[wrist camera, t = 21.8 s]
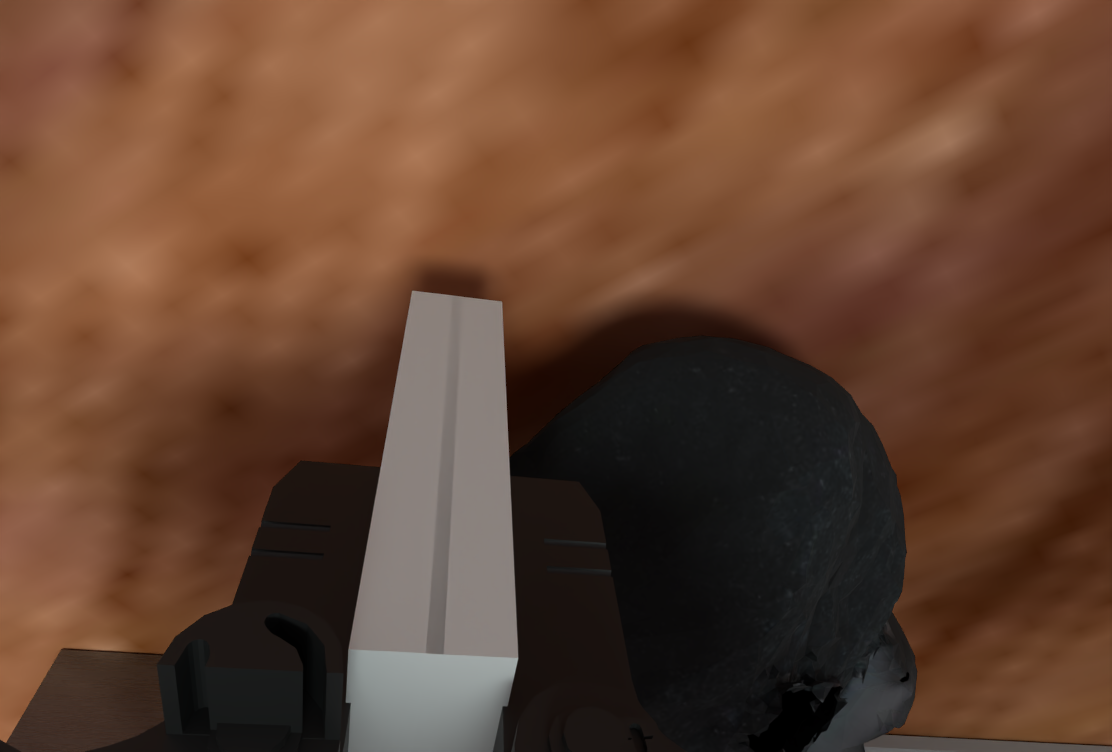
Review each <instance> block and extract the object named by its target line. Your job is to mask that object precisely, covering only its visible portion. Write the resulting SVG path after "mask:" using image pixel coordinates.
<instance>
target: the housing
mask: <svg viewBox="0 0 1112 752" xmlns="http://www.w3.org/2000/svg"><path fill="white" fill-rule="evenodd" d="M162 656H163V655H148V654H131V653H114V652H97V651H80V650H63V649H61V651H60V653H59V654H58V656H57V658H56V660H55V661H54V663H53V665H52V666H51V668H50V670H49V671H48V673H47V675H46V676H45V678H44V680H43V682H42V683H41V685H40V687H39V688H38V690H37V692H36V693H35V695H34V697H33V698H32V700H31V702H30V704H29V705H28V707H27V709H26V710H25V712H24V714H23V715H22V717H21V719H20V720H19V722H18V724H17V726H16V727H15V729H14V731H13V732H12V734H11V736H10V737H9V739H8V741H7V742H6V743H7V744H8V745H10V746H12V747H14V748H16V749H17V750H19V751H21V752H85V751H89V750H93V749H97V748H101V747H105V746H109V745H112V744H115V743H118V742H121V741H123V740H126V739H129V738H132V737H135V736H138V735H139V734H141V733H143V732H145V731H147V730H149V729H150V728H152V727H154V726H156V725H158V724H160V723H161V722H163V721H164V715H163V707H162V700H161V693H160V686H159V678H158V671H157V663H158V662H159V660H160V659H161V657H162Z"/></svg>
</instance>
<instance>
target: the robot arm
mask: <svg viewBox="0 0 1112 752" xmlns="http://www.w3.org/2000/svg"><path fill="white" fill-rule="evenodd" d="M157 671H158V678H159V686H160V693H161V700H162V707H163V715H164V721H163V722H161V723H160V724H158V725H156V726H154V727H152V728H150V729H149V730H147V731H145V732H143V733H141V734H139V735H138V736H135V737H132V738H129V739H126V740H123V741H121V742H118V743H115V744H112V745H109V746H105V747H101V748H97V749H93V750H89V751H85V752H687V751H685V750H684V749H682V748H681V747H680V746H678V745H677V744H675V743H674V742H673V741H671V740H670V739H669V738H667V737H666V736H665V735H664V734H663V733H662V732H661V731H660V730H659V729H658V726H657V724H656V722H655V721H654V720H653V719H652V717H651V716H650V715H649V714H648V713H647V712H646V711H645V710H644V709H643V707H642V706H641V704H640V703H639V701H638V698H637V695H636V692H635V689H634V686H633V683H632V678H631V673H630V668H629V662H628V657H627V652H626V646H625V641H624V636H623V630H622V625H621V619H620V614H619V609H618V603H617V598H616V593H615V587H614V582H613V577H611V566H610V561H609V555H608V550H606V539H605V534H604V529H603V523H602V518H601V513H600V510H599V508H598V507H597V506H596V504H595V503H594V502H593V500H592V499H591V498H590V496H589V495H588V493H587V492H586V491H585V489H584V488H583V487H582V485H581V484H580V482H576V481H564V480H553V479H541V478H529V477H517V476H510V466H509V444H508V422H507V400H506V378H505V356H504V334H503V312H502V301H494V300H485V299H477V298H469V297H461V296H453V295H445V294H436V293H428V292H420V291H412V295H411V300H410V306H409V312H408V317H407V323H406V328H405V334H404V340H403V345H402V351H401V357H400V362H399V368H398V373H397V379H396V385H395V390H394V396H393V402H392V407H391V413H390V418H389V424H388V430H387V435H386V441H385V447H384V452H383V458H382V463H381V467H370V466H359V465H347V464H335V463H323V462H312V461H300V462H299V463H298V464H297V465H296V466H295V467H294V468H293V469H292V470H291V471H290V472H289V473H288V474H287V475H286V476H285V477H283V478H282V479H281V480H280V481H279V482H278V483H277V484H276V485H275V486H274V487H273V489H272V492H271V495H270V498H269V501H268V504H267V507H266V509H265V512H264V515H263V518H262V523H261V527H259V529H258V532H257V535H256V538H255V541H254V544H253V547H252V552H251V556H249V558H248V561H247V564H246V567H245V569H244V572H243V575H242V578H241V581H240V584H239V586H238V589H237V592H236V595H235V598H234V601H233V604H232V605H231V606H228V607H226V608H223V609H220V610H217V611H215V612H212V613H209V614H207V615H204V616H203V617H201V618H200V619H199V620H197V621H196V622H195V623H193V624H192V625H191V626H189V627H188V628H187V629H185V630H184V631H183V632H181V633H180V634H179V635H177V636H176V637H175V638H174V640H173V641H172V643H171V644H170V646H169V647H168V649H167V650H166V652H165V653H164V654H163V656H162V657H161V659H160V660H159V662H158V663H157ZM0 752H21V751H19V750H17V749H16V748H14V747H12V746H10V745H8V744H7V743H5V742H3V741H1V740H0Z"/></svg>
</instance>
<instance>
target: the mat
mask: <svg viewBox="0 0 1112 752" xmlns="http://www.w3.org/2000/svg"><path fill="white" fill-rule="evenodd" d="M864 748H865V752H1112V746H1093V745H1073V744H1054V743H1034V742H1015V741H995V740H976V739H957V738H937V737H918V736H898V735H882V736H880V737H878V738H876V739H873V740H871V741H869V742H866V743H864Z"/></svg>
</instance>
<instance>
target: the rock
mask: <svg viewBox="0 0 1112 752" xmlns="http://www.w3.org/2000/svg"><path fill="white" fill-rule="evenodd" d="M509 466H510V476H517V477H529V478H541V479H553V480H564V481H576V482H580V484H581V485H582V487H583V488H584V489H585V491H586V492H587V493H588V495H589V496H590V498H591V499H592V500H593V502H594V503H595V504H596V506H597V507H598V508H599V510H600V513H601V518H602V523H603V529H604V534H605V539H606V550H608V555H609V561H610V566H611V577H613V582H614V587H615V593H616V598H617V603H618V609H619V614H620V619H621V625H622V630H623V636H624V641H625V646H626V652H627V657H628V662H629V668H630V673H631V678H632V683H633V686H634V689H635V692H636V695H637V698H638V701H639V703H640V704H641V706H642V707H643V709H644V710H645V711H646V712H647V713H648V714H649V715H650V716H651V717H652V719H653V720H654V721H655V722H656V724H657V726H658V729H659V730H660V731H661V732H662V733H663V734H664V735H665V736H666V737H667V738H669V739H670V740H671V741H673V742H674V743H675V744H677V745H678V746H680V747H681V748H682V749H684V750H685V751H687V752H865V748H864V743H866V742H869V741H871V740H873V739H876V738H878V737H880V736H882V735H884V734H886V733H888V732H889V731H890V730H892V729H893V728H895V727H896V728H900V727H901V726H903V725H904V724H905V721H906V719H907V716H908V713H909V711H910V709H911V707H912V705H913V701H914V698H915V689H916V679H917V669H916V665H915V655H914V653H913V651H912V649H911V647H910V645H909V643H908V641H907V639H906V636H905V634H904V632H903V630H902V628H901V626H900V625H899V623H898V621H897V620H896V618H895V616H894V614H893V613H892V610H893V607H894V604H895V603H896V602H897V601H898V599H899V597H900V594H901V592H902V587H903V579H904V569H905V557H906V553H907V551H906V542H905V528H904V514H903V508H902V502H901V496H900V493H899V490H898V487H897V478H896V474H895V472H894V471H893V469H892V467H891V465H890V462H889V460H888V457H887V455H886V452H885V449H884V447H883V444H882V442H881V440H880V438H879V436H878V434H877V432H876V430H875V429H874V427H873V425H872V424H871V423H870V422H869V421H868V420H867V419H866V418H865V417H864V416H863V415H862V413H861V412H860V410H859V408H858V406H857V405H856V403H855V401H854V400H853V398H852V396H851V395H850V394H849V393H848V392H847V391H846V390H845V389H844V388H843V387H842V386H840V385H839V384H838V383H837V382H836V381H835V380H834V379H833V378H832V377H830V376H828V375H826V374H825V373H823V372H821V371H819V370H818V369H816V368H814V367H812V366H811V365H808V364H806V363H804V362H801V361H799V360H796V359H794V358H791V357H789V356H786V355H784V354H782V353H779V352H777V351H775V350H773V349H771V348H769V347H766V346H762V345H758V344H754V343H750V342H746V341H742V340H738V339H733V338H720V337H710V336H703V335H702V336H692V337H682V338H675V339H670V340H666V341H661V342H656V343H651V344H647V345H642V346H641V347H639V348H637V349H636V350H634V351H632V352H631V353H630V354H629V355H628V356H627V357H626V358H625V359H624V360H623V361H622V362H621V363H620V364H619V365H618V366H617V367H616V368H614V369H613V370H612V371H611V372H610V373H609V374H607V375H606V376H605V377H604V378H603V379H601V380H600V381H599V382H598V383H597V384H596V385H594V386H593V387H592V388H590V389H589V390H587V391H586V392H585V393H583V394H582V395H580V396H579V397H578V398H577V399H575V400H574V401H573V402H572V403H571V404H569V405H568V406H567V407H566V408H565V409H563V410H562V411H561V412H560V413H559V414H557V415H556V416H555V417H554V418H553V419H552V420H551V421H550V422H549V423H548V424H547V425H546V426H545V427H544V428H543V429H542V430H541V431H540V432H539V433H538V434H537V435H536V436H535V437H534V438H533V439H532V440H531V441H529V442H528V443H527V444H526V445H525V446H523V447H522V448H521V449H519V450H518V451H517V452H515V453H514V454H513V455H512V456H511V457H510V458H509Z"/></svg>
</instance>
